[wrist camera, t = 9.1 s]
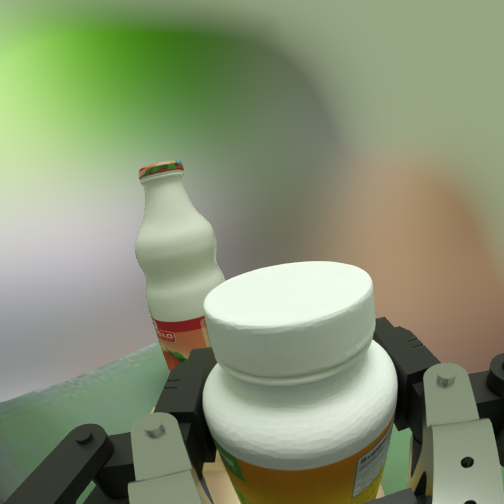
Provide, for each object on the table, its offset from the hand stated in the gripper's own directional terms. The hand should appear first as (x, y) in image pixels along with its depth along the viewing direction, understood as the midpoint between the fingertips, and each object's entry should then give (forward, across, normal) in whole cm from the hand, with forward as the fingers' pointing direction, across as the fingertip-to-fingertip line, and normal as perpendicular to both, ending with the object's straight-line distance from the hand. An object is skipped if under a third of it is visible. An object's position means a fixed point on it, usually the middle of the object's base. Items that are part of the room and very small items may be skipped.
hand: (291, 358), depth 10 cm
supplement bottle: (-3, 0, +6) cm, 7 cm away
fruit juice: (+23, +10, +18) cm, 30 cm away
